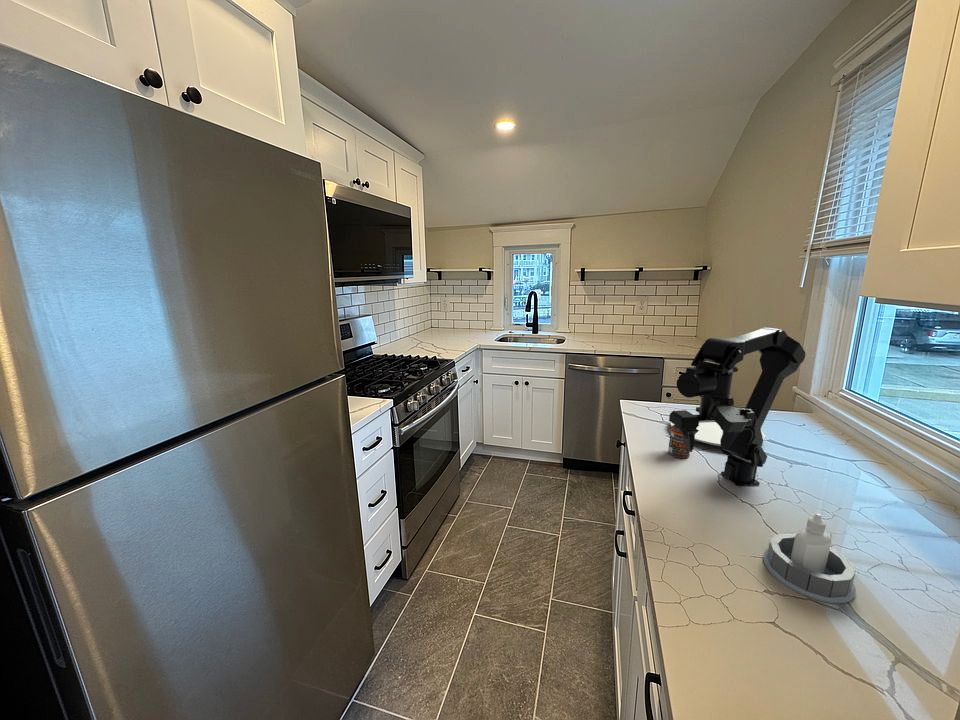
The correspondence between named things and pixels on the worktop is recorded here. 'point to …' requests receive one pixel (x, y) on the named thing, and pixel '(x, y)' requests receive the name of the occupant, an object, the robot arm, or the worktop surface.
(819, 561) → the eye dropper bottle
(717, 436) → the dinner plate
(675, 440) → the supplement bottle
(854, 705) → the worktop surface
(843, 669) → the worktop surface
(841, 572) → the grey segmented round bowl
